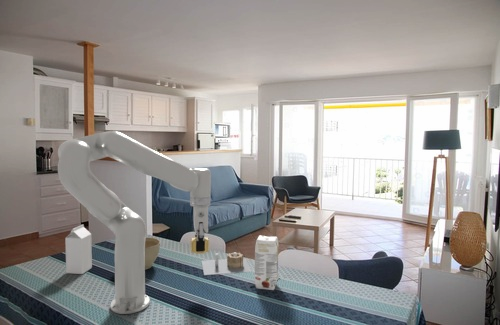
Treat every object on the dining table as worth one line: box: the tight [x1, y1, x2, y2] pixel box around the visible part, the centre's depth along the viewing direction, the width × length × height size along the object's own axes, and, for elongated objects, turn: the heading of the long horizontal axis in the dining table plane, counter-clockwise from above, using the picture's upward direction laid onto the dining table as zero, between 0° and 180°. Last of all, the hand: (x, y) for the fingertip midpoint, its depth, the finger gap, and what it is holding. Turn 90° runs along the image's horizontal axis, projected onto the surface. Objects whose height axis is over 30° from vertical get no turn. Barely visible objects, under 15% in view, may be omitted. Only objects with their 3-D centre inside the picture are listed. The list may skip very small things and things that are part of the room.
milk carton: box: [64, 224, 93, 275], centre depth 141 cm, size 7×7×19 cm
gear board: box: [201, 252, 253, 276], centre depth 146 cm, size 16×20×7 cm
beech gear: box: [226, 252, 244, 268], centre depth 147 cm, size 7×7×4 cm
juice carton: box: [254, 234, 279, 291], centre depth 129 cm, size 8×9×19 cm
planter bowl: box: [145, 236, 161, 271], centre depth 147 cm, size 16×16×11 cm
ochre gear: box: [190, 236, 210, 255], centre depth 128 cm, size 7×7×4 cm
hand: (199, 247), depth 128 cm, fingers closed on ochre gear, 6 cm apart
